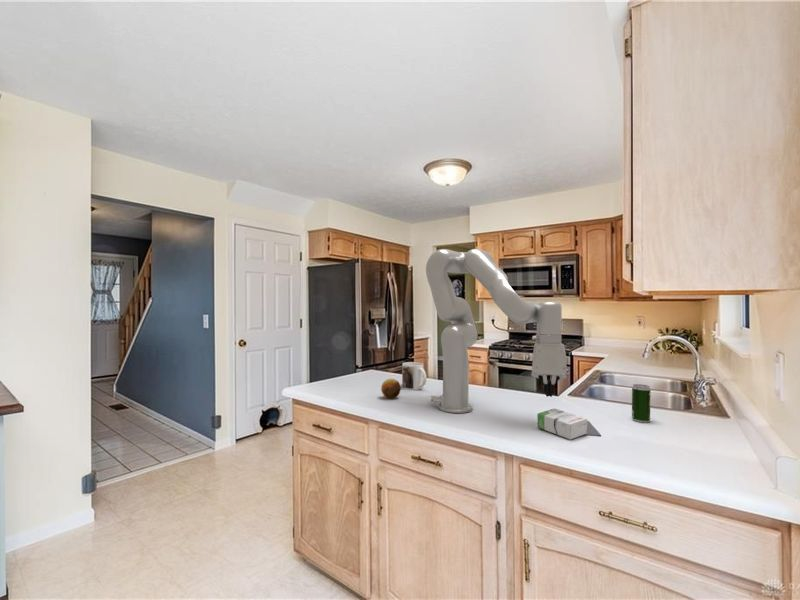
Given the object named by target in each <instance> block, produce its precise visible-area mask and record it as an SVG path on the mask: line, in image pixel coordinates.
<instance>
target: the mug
mask: <svg viewBox="0 0 800 600" xmlns="http://www.w3.org/2000/svg"><path fill="white" fill-rule="evenodd" d="M401 367H402V370H401V373H402V374H401V389H403V390H408V391H419V390H422V389H423V388H424V386H425V385H426V383H427V372H426V371H425V368H424V367H425V366H424V363H423V362H418V361H415V362H414V361H411V362H410V361H407V362H403V363H402V365H401Z"/></svg>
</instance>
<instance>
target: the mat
mask: <svg viewBox="0 0 800 600" xmlns="http://www.w3.org/2000/svg"><path fill="white" fill-rule="evenodd" d="M583 436H591V437H592V436H593V437H594V436H595V437H602V434H601V433H600V432H599V431H598V430H597V428H596V427H595V426H594V425H593V424H592V423H591V422H590V421H589V420H587V434H584V435H583Z"/></svg>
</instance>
